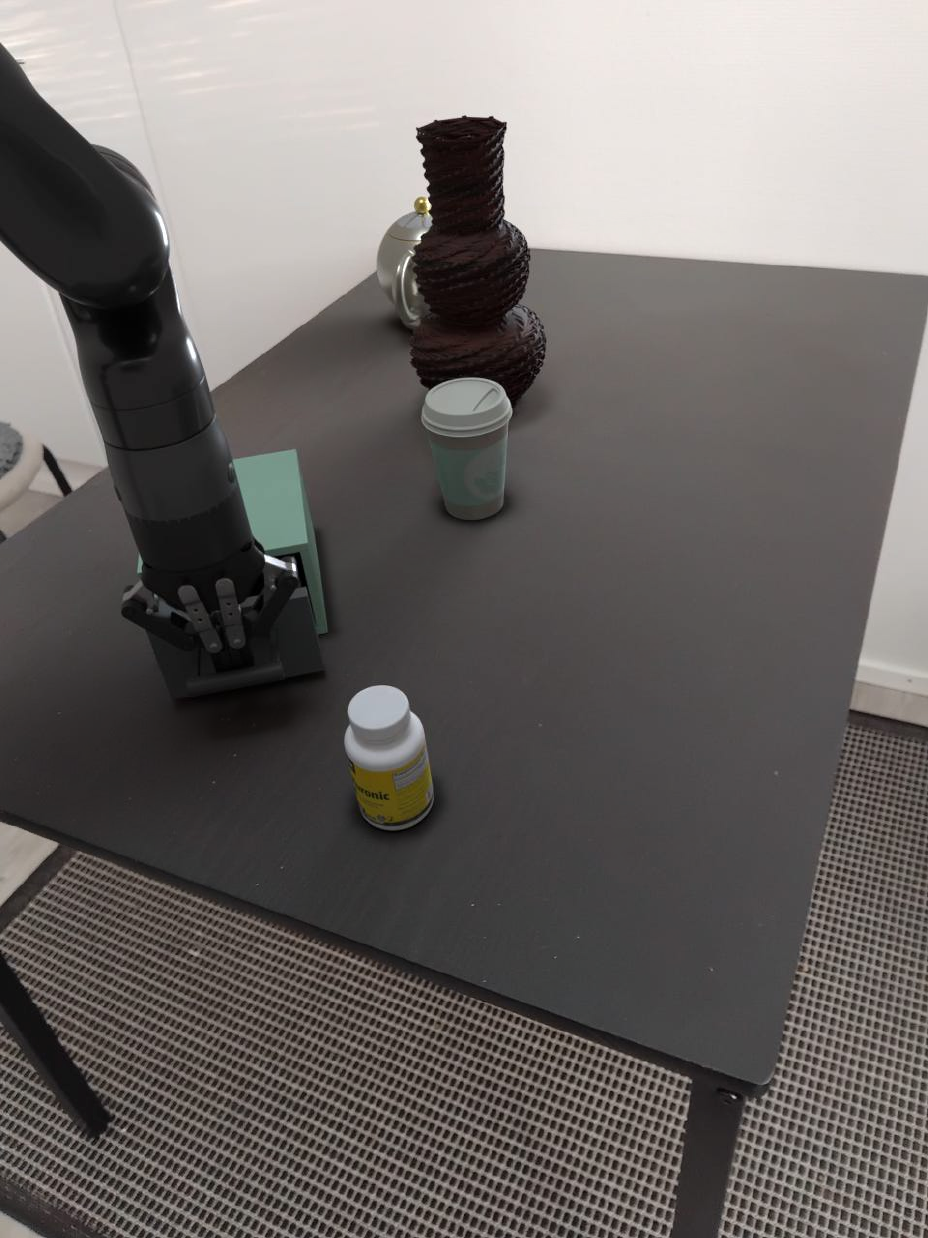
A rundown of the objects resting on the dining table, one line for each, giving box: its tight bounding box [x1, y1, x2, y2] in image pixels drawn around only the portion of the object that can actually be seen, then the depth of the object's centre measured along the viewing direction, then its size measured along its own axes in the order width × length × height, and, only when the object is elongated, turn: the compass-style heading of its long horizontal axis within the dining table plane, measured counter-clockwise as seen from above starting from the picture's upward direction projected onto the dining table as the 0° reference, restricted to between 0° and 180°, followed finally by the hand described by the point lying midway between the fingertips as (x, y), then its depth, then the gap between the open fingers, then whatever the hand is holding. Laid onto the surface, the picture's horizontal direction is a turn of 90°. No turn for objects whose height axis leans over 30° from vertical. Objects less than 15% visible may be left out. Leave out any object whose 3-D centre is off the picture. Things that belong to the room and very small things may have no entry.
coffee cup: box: [420, 378, 513, 521], centre depth 94 cm, size 8×8×12 cm
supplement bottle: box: [343, 684, 435, 831], centre depth 66 cm, size 5×5×10 cm
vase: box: [408, 114, 547, 413], centre depth 104 cm, size 15×15×30 cm
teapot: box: [375, 196, 440, 331], centre depth 128 cm, size 18×14×16 cm
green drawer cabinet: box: [136, 448, 329, 635], centre depth 87 cm, size 16×14×10 cm
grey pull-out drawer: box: [145, 552, 326, 700], centre depth 80 cm, size 20×12×8 cm, turn 11°
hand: (238, 677), depth 75 cm, fingers closed
